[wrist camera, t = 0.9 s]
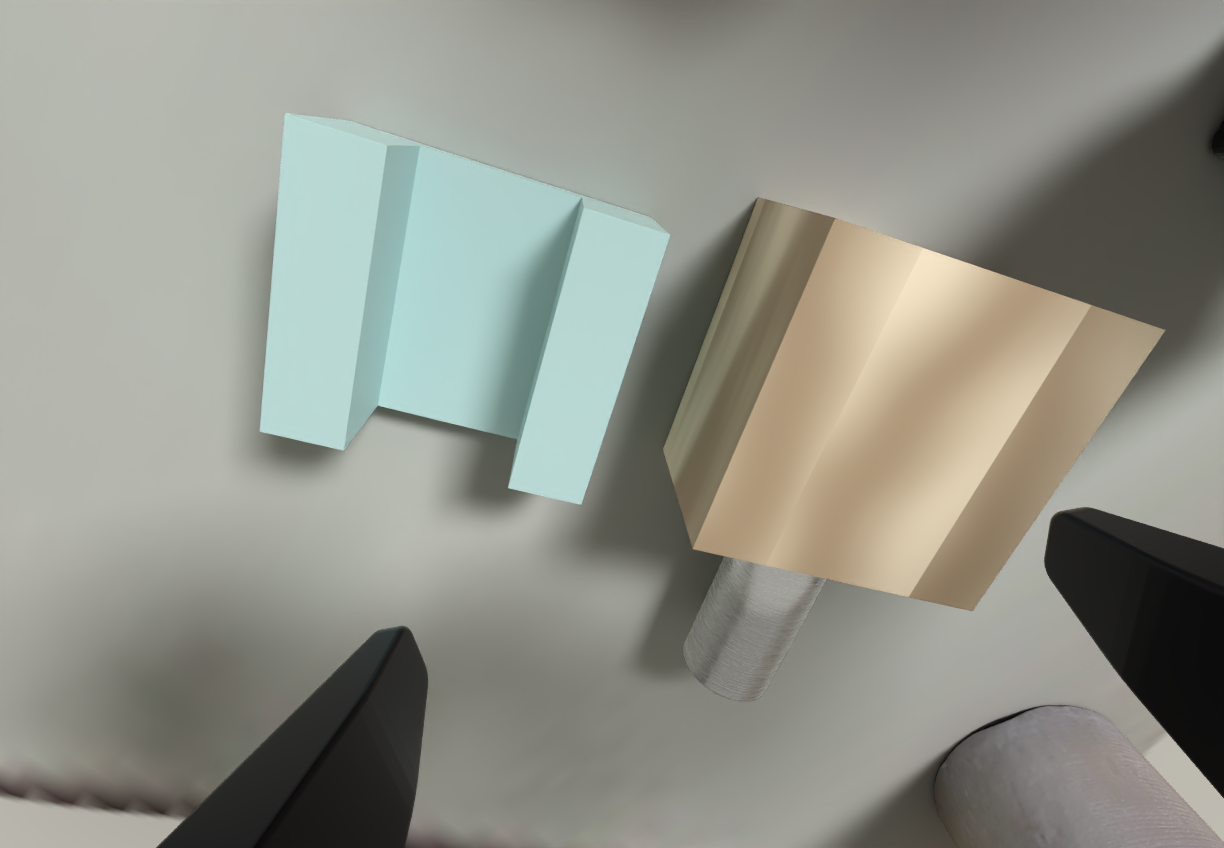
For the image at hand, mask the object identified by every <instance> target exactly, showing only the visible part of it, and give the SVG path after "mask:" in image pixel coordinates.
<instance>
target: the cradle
mask: <svg viewBox="0 0 1224 848" xmlns="http://www.w3.org/2000/svg"><path fill="white" fill-rule="evenodd" d="M669 238H670V234H669V233H668V232H666V231H665V230H664V229H663V228H662V227H661V226H660V225H659V224H658V223H657V222H655V221H654V220H653V219H652V218H651V217H649V216H646V215H643V214H639V213H636V212H633V211H630V210H627V209H624V208H621V207H618V206H614V205H611V204H608V203H605V202H602V201H599V200H596V199H593V198H589V197H586V196H583V195H580V194H577V193H574V192H571V191H568V190H564V189H561V188H558V187H555V186H552V185H549V184H546V183H543V182H539V181H536V180H533V179H530V178H527V177H524V176H521V175H518V174H515V173H511V172H508V171H505V170H502V169H499V168H496V167H493V166H490V165H486V164H483V163H480V162H477V161H474V160H471V159H468V158H465V157H461V156H458V155H455V154H452V153H449V152H446V151H443V150H440V149H436V148H433V147H430V146H427V145H424V144H421V143H418V142H415V141H411V140H408V139H405V138H402V137H399V136H396V135H393V134H390V133H386V132H383V131H380V130H377V129H374V128H371V127H368V126H365V125H361V124H358V123H355V122H352V121H348V120H340V119H331V118H323V117H314V116H306V115H298V114H289V113H285V118H284V130H283V143H282V156H281V168H280V181H279V194H278V206H277V219H276V232H275V244H274V257H273V270H272V282H271V295H270V308H269V320H268V333H267V345H266V358H265V371H264V383H263V396H262V409H261V421H260V432H264V433H269V434H273V435H277V436H282V437H286V438H290V439H295V440H299V441H304V442H308V443H312V444H317V445H321V446H326V447H330V448H334V449H339V450H343V451H344V450H345V448H346V447H347V446H348V445H349V443H350V442H351V441H352V439H353V438H354V437H355V435H356V434H357V433H358V431H359V430H360V429H361V427H362V426H363V425H364V423H365V422H366V421H367V419H368V418H369V417H370V415H371V414H372V413H373V411H374V410H375V409H376V407H377V406H381V407H386V408H390V409H394V410H398V411H402V412H406V413H410V414H414V415H419V416H423V417H427V418H431V419H435V420H439V421H443V422H447V423H451V424H456V425H460V426H464V427H468V428H472V429H476V430H480V431H484V432H489V433H493V434H497V435H501V436H505V437H509V438H513V439H517V443H516V448H515V454H514V459H513V464H512V469H511V475H510V480H509V485H508V488H510V489H514V490H519V491H523V492H527V493H532V494H536V495H540V496H545V497H549V498H554V499H558V500H562V501H567V502H571V503H576V504H580V505H581V504H582V501H583V498H584V495H585V492H586V489H587V486H588V483H589V480H590V477H591V474H592V471H593V468H594V465H595V462H596V459H597V456H598V453H599V450H600V447H601V443H602V440H603V437H604V434H605V431H606V428H607V425H608V422H609V419H610V416H611V413H612V410H613V407H614V404H615V401H616V398H617V395H618V392H619V389H620V386H621V383H622V380H623V377H624V374H625V371H626V368H627V365H628V362H629V359H630V356H631V353H632V350H633V347H634V344H635V341H636V338H637V335H638V332H639V329H640V326H641V322H642V319H643V316H644V313H645V310H646V307H647V304H648V301H649V298H650V295H651V292H652V289H653V286H654V283H655V280H656V277H657V274H658V271H659V268H660V265H661V262H662V259H663V256H664V253H665V250H666V247H667V244H668V241H669Z"/></svg>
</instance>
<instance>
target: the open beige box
mask: <svg viewBox="0 0 1224 848" xmlns="http://www.w3.org/2000/svg"><path fill="white" fill-rule="evenodd" d="M1164 332H1165V330H1164V329H1161V328H1158V327H1155V326H1152V325H1149V324H1146V323H1143V322H1140V321H1137V320H1134V319H1131V318H1128V317H1125V316H1122V315H1119V314H1117V313H1114V312H1111V311H1108V310H1105V309H1102V308H1099V307H1096V306H1093V305H1090V304H1087V303H1084V302H1081V301H1078V300H1075V299H1072V298H1069V297H1066V296H1063V295H1060V294H1058V293H1055V292H1052V291H1049V290H1046V289H1043V288H1040V287H1037V286H1034V285H1031V284H1028V283H1025V282H1022V281H1019V280H1016V279H1013V278H1010V277H1007V276H1004V275H1001V274H998V273H996V272H993V271H990V270H987V269H984V268H981V267H978V266H975V265H972V264H969V263H966V262H963V261H960V260H957V259H954V258H951V257H948V256H945V255H942V254H939V253H936V252H934V251H931V250H928V249H925V248H922V247H919V246H916V245H913V244H910V243H907V242H904V241H901V240H898V239H895V238H892V237H889V236H886V235H883V234H880V233H877V232H874V231H872V230H869V229H866V228H863V227H860V226H857V225H854V224H851V223H848V222H845V221H842V220H839V219H836V218H833V217H829V216H825V215H822V214H818V213H814V212H811V211H807V210H803V209H799V208H796V207H792V206H788V205H785V204H781V203H777V202H774V201H770V200H766V199H763V198H759V197H758V199H757V202H756V204H755V207H754V210H753V212H752V215H751V218H750V220H749V223H748V225H747V228H746V231H745V233H744V236H743V239H742V241H741V244H740V247H739V249H738V252H737V255H736V257H735V260H734V263H733V265H732V268H731V271H730V273H729V276H728V278H727V281H726V284H725V286H724V289H723V292H722V294H721V297H720V300H719V302H718V305H717V308H716V310H715V313H714V316H713V318H712V321H711V324H710V326H709V329H708V331H707V334H706V337H705V339H704V342H703V345H702V347H701V350H700V353H699V355H698V358H697V361H696V363H695V366H694V369H693V371H692V374H691V377H690V379H689V382H688V385H687V387H686V390H685V392H684V395H683V398H682V400H681V403H680V406H679V408H678V411H677V414H676V416H675V419H674V422H673V424H672V427H671V430H670V432H669V435H668V438H667V440H666V443H665V445H664V448H663V451H664V455H665V458H666V461H667V465H668V468H669V472H670V475H671V478H672V482H673V485H674V488H675V492H676V495H677V498H678V502H679V505H680V509H681V512H682V515H683V519H684V522H685V525H686V529H687V532H688V535H689V539H690V542H691V545H692V549H694V550H699V551H703V552H708V553H712V554H717V555H721V556H726V557H730V558H735V559H739V560H744V561H748V562H753V563H757V564H762V565H766V566H771V567H775V568H780V569H784V570H789V571H793V572H798V573H802V574H807V575H811V576H816V577H820V578H825V579H829V580H834V581H838V582H843V583H847V584H852V585H856V586H861V587H865V588H870V589H874V590H879V591H883V592H888V593H892V594H897V595H901V596H906V597H910V598H915V599H919V600H924V601H928V602H933V603H937V604H942V605H946V606H951V607H955V608H960V609H964V610H969V611H973V610H974V608H975V607H976V605H977V604H978V602H979V601H980V600H981V598H982V597H983V595H984V594H985V592H986V591H987V589H988V588H989V586H990V585H991V584H992V582H993V581H994V579H995V578H996V576H997V575H998V573H999V572H1000V570H1001V569H1002V568H1003V566H1004V565H1005V563H1006V562H1007V560H1008V559H1009V557H1010V556H1011V554H1012V553H1013V552H1014V550H1015V549H1016V547H1017V546H1018V544H1019V543H1020V541H1021V540H1022V538H1023V537H1024V536H1025V534H1026V533H1027V531H1028V530H1029V528H1030V527H1031V525H1032V524H1033V522H1034V521H1035V520H1036V518H1037V517H1038V515H1039V514H1040V512H1041V511H1042V509H1043V508H1044V506H1045V505H1046V504H1047V502H1048V501H1049V499H1050V498H1051V496H1052V495H1053V493H1054V492H1055V490H1056V489H1057V488H1058V486H1059V485H1060V483H1061V482H1062V480H1063V479H1064V477H1065V476H1066V474H1067V473H1068V472H1069V470H1070V469H1071V467H1072V466H1073V464H1074V463H1075V461H1076V460H1077V458H1078V457H1079V456H1080V454H1081V453H1082V451H1083V450H1084V448H1085V447H1086V445H1087V444H1088V442H1089V441H1090V440H1091V438H1092V437H1093V435H1094V434H1095V432H1096V431H1097V429H1098V428H1099V426H1100V425H1101V424H1102V422H1103V421H1104V419H1105V418H1106V416H1107V415H1108V413H1109V412H1110V410H1111V409H1112V408H1113V406H1114V405H1115V403H1116V402H1117V400H1118V399H1119V397H1120V396H1121V394H1122V393H1123V392H1124V390H1125V389H1126V387H1127V386H1128V384H1129V383H1130V381H1131V380H1132V378H1133V377H1134V376H1135V374H1136V373H1137V371H1138V370H1139V368H1140V367H1141V365H1142V364H1143V362H1144V361H1145V360H1146V358H1147V357H1148V355H1149V354H1150V352H1151V351H1152V349H1153V348H1154V346H1155V345H1156V344H1157V342H1158V341H1159V339H1160V338H1161V336H1162V335H1163V333H1164Z"/></svg>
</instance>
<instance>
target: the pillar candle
mask: <svg viewBox="0 0 1224 848" xmlns="http://www.w3.org/2000/svg"><path fill="white" fill-rule="evenodd" d="M934 798H935V802H936V804H937V812H938V815H939V817H940V819H941V820H942V822H943V824H944V825H945V827H946V829H947V831H948V832H949V834H950V836H951V837H952V839H953V841H954V843H955V844H956V846H957V848H1224V842H1223V841H1222V840H1221V839H1220V838H1219V836H1218V835H1217V834H1216V833H1215V832H1214V831H1213V830H1212V829H1211V828H1210V827H1209V826H1208V825H1207V824H1206V823H1205V821H1204V820H1203V819H1202V818H1201V817H1200V816H1199V815H1198V814H1197V813H1196V812H1195V811H1194V810H1193V809H1192V808H1191V807H1190V806H1189V805H1188V804H1187V802H1186V801H1185V800H1184V799H1183V798H1182V797H1181V796H1180V795H1179V794H1178V793H1177V792H1176V791H1175V790H1174V789H1173V788H1172V786H1171V785H1170V784H1169V783H1168V782H1167V781H1166V780H1165V779H1164V778H1163V777H1162V776H1161V775H1160V774H1159V772H1158V771H1157V770H1156V769H1155V768H1154V767H1153V766H1152V765H1151V764H1150V763H1149V762H1148V761H1147V760H1146V758H1145V757H1144V756H1143V755H1142V754H1141V753H1140V752H1139V751H1138V750H1137V749H1136V748H1135V747H1134V746H1133V745H1132V743H1131V742H1130V741H1129V740H1128V739H1127V738H1126V737H1125V736H1124V735H1123V734H1122V732H1121V731H1120V730H1118V729H1117V728H1116V726H1115V725H1114V724H1113V723H1112V722H1110V721H1109V720H1108V719H1107V718H1105V717H1104V716H1102V715H1101V714H1099V713H1096V712H1093V711H1091V710H1088V709H1083V708H1079V707H1075V706H1044V707H1039V708H1036V709H1033V710H1029V711H1026V712H1024V713H1022V714H1020V715H1018V716H1016V717H1014V718H1012V719H1010V720H1008V721H1005V722H1003V723H1000V724H997V725H995V726H992V727H990V728H987V729H984V730H982V731H979V732H977V733H975V734H973V735H971V736H970V737H968V738H967V739H966V740H964V741H963V742H962V743H961V744H959V745H958V746H957V747H956V748H955V749H954V750H953V752H951V753H950V754H949V756H948V757H947V759H946V760H945V762H944V763H943V764H942V766H941V767H940V769H939V771H938V772H937V777H936V780H935V784H934Z"/></svg>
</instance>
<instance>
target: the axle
mask: <svg viewBox="0 0 1224 848" xmlns="http://www.w3.org/2000/svg"><path fill="white" fill-rule="evenodd" d="M826 580H827V579H825V578H820V577H816V576H811V575H807V574H802V573H798V572H793V571H789V570H784V569H780V568H775V567H771V566H766V565H762V564H757V563H753V562H748V561H744V560H739V559H735V558H730V557H726V556H724V558H723V560H722V562H721V564H720V567H719V569H718V571H717V573H716V575H715V577H714V580H713V582H712V584H711V586H710V588H709V591H708V593H707V595H706V597H705V599H704V601H703V604H702V606H701V608H700V610H699V612H698V615H697V617H696V619H695V621H694V623H693V625H692V628H691V630H690V632H689V634H688V636H687V639H686V641H685V643H684V647H683V655H684V659H685V662H686V664H687V666H688V668H689V669H690V671H691V673H692V674H693V675H694V676H695V677H696V678H697V680H698V681H699V682H700V683H702V684H703V685H704V686H705V687H707V688H708V689H709V690H711V691H712V692H714V693H716V694H718V695H720V696H722V697H724V698H727V699H730V700H734V701H742V702H746V701H753V700H756V699H758V698H759V697H761V696H762V695H763V694H764V692H765V691H766V689H767V687H768V685H769V683H770V682H771V680H772V678H773V676H774V674H775V673H776V671H777V669H778V667H779V665H780V663H781V662H782V660H783V658H784V656H785V654H786V653H787V651H788V649H789V647H790V645H791V644H792V642H793V640H794V638H795V636H796V634H797V633H798V631H799V629H800V627H801V625H802V624H803V622H804V620H805V618H806V616H807V615H808V613H809V611H810V609H811V607H812V605H813V604H814V602H815V600H816V598H817V596H818V595H819V593H820V591H821V589H822V587H823V585H824V584H825V582H826Z"/></svg>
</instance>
